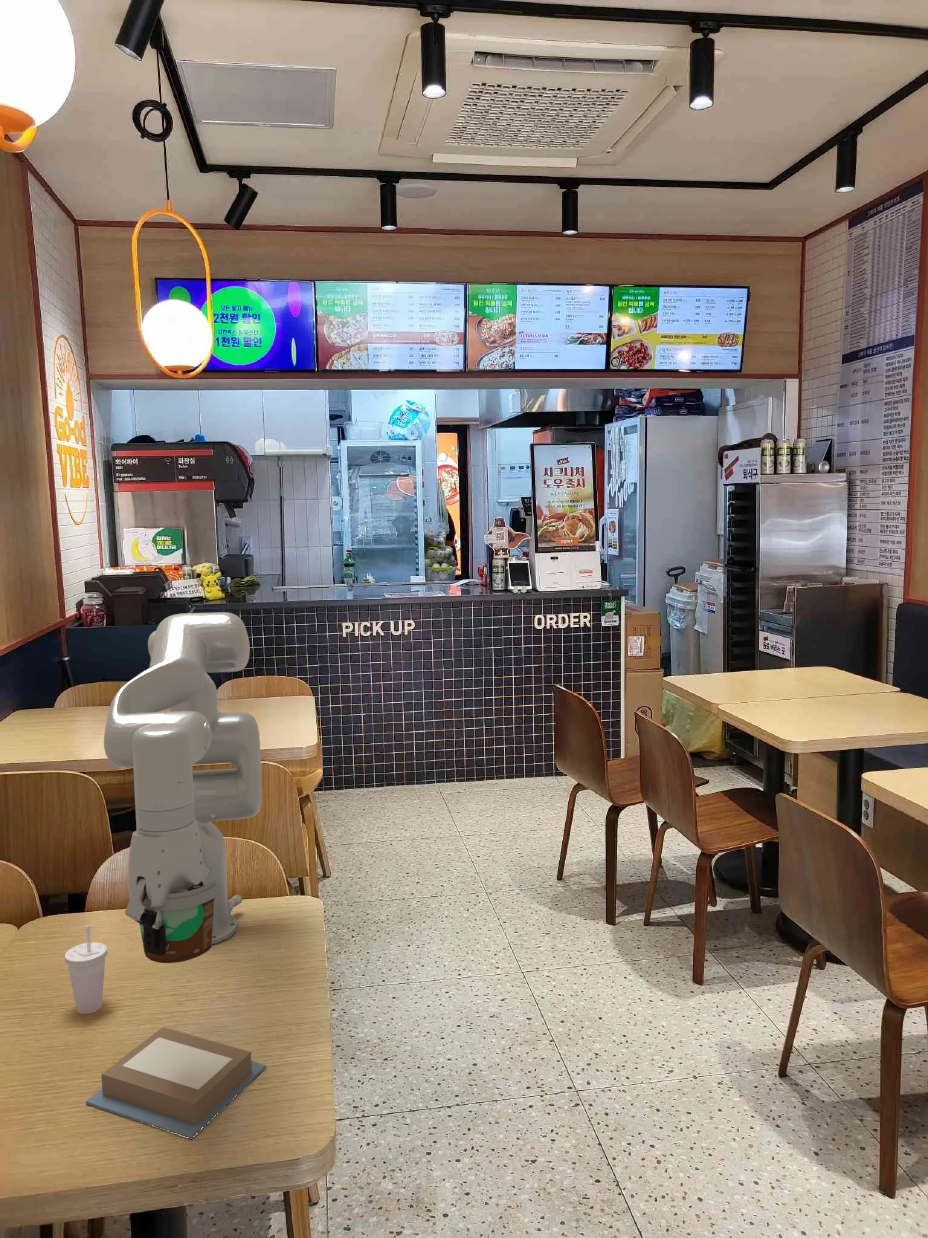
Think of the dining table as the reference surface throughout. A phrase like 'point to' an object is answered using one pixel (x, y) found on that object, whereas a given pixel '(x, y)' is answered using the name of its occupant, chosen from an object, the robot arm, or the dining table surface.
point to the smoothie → (87, 974)
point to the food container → (185, 923)
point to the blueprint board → (175, 1081)
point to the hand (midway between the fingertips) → (171, 941)
